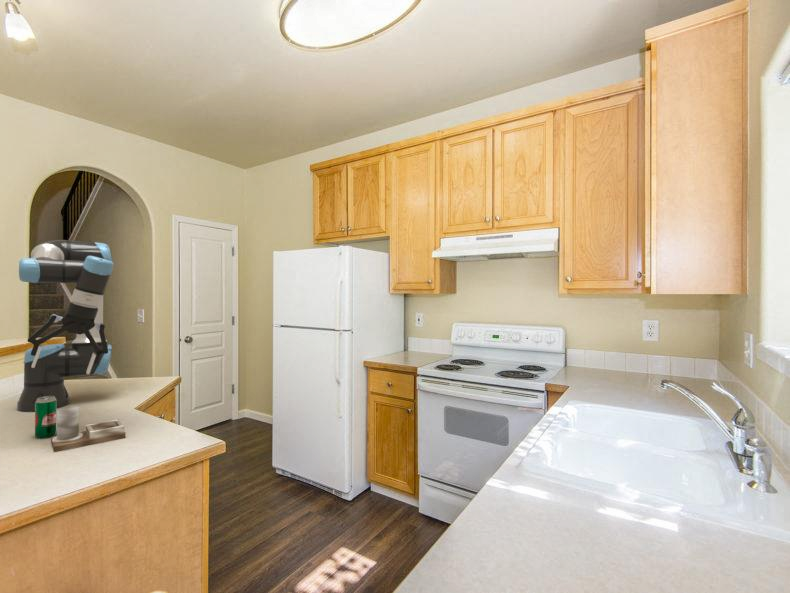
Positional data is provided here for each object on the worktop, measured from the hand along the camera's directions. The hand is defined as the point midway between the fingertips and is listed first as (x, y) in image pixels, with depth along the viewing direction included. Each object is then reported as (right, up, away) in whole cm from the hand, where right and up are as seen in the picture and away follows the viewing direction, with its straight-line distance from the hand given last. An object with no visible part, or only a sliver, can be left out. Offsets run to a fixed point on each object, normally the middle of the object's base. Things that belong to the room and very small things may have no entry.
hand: (61, 369), depth 125 cm
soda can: (-4, -21, -1) cm, 21 cm away
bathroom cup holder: (+11, -21, -3) cm, 24 cm away
